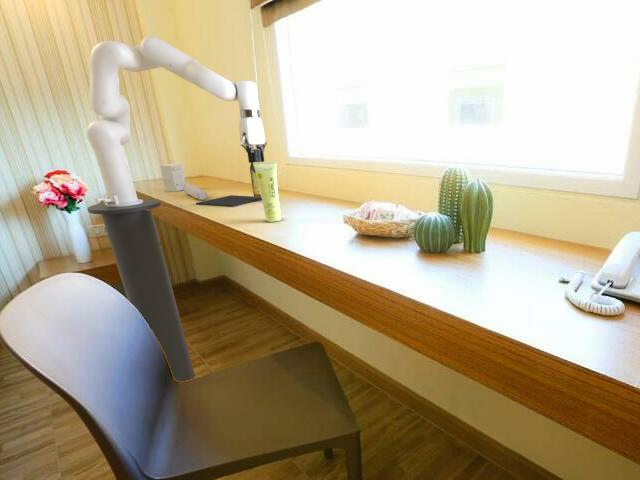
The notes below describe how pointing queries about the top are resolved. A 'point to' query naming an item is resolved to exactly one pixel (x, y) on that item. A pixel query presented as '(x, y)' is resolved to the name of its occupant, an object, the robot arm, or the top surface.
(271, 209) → the tube
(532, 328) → the top surface
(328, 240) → the top surface
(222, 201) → the mat
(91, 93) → the robot arm
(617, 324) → the top surface
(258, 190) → the sauce bottle
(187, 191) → the tube
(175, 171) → the small box
